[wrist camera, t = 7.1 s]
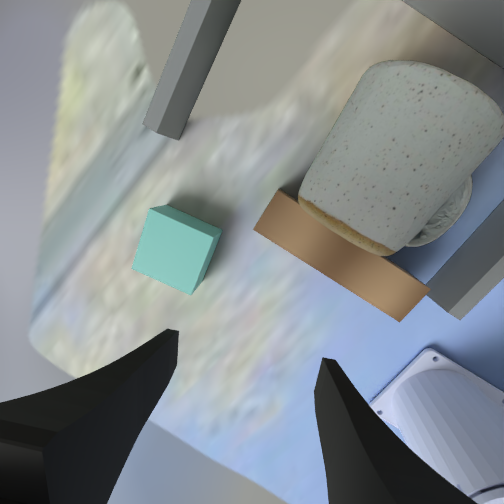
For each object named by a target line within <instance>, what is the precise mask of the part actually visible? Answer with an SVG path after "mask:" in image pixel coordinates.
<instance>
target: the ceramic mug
mask: <svg viewBox="0 0 504 504" xmlns="http://www.w3.org/2000/svg"><path fill="white" fill-rule="evenodd" d="M503 137H504V114H503V113H502V111H501V110H500V108H499V106H498V105H497V104H496V102H495V101H494V100H493V99H491V98H490V97H489V96H488V95H487V94H485V93H484V92H483V91H482V90H480V89H479V88H478V87H476V86H475V85H473V84H472V83H470V82H469V81H466V80H464V79H462V78H460V77H458V76H456V75H453V74H451V73H450V72H448V71H446V70H444V69H441V68H438V67H435V66H432V65H430V64H427V63H422V62H417V61H402V60H388V61H384V62H380V63H377V64H375V65H373V66H371V67H370V68H369V69H368V70H367V71H366V72H365V73H364V74H363V76H362V77H361V79H360V81H359V82H358V84H357V86H356V88H355V90H354V92H353V93H352V95H351V97H350V98H349V100H348V102H347V104H346V105H345V107H344V109H343V110H342V112H341V114H340V116H339V117H338V119H337V121H336V123H335V125H334V126H333V128H332V130H331V132H330V133H329V135H328V137H327V139H326V141H325V142H324V144H323V146H322V148H321V149H320V151H319V153H318V154H317V156H316V158H315V160H314V161H313V163H312V165H311V166H310V168H309V170H308V171H307V173H306V175H305V178H304V180H303V182H302V185H301V187H300V190H299V194H298V201H299V204H300V207H301V208H302V209H303V210H304V211H305V212H306V213H308V214H309V215H310V216H311V217H313V218H314V219H315V220H317V221H318V222H320V223H321V224H322V225H324V226H325V227H327V228H328V229H330V230H331V231H333V232H335V233H336V234H338V235H340V236H341V237H343V238H344V239H346V240H347V241H349V242H351V243H353V244H355V245H356V246H358V247H360V248H362V249H364V250H366V251H368V252H370V253H373V254H375V255H378V256H389V255H392V254H394V253H396V252H397V251H399V250H400V249H401V248H403V247H404V246H407V247H419V246H422V245H425V244H428V243H430V242H432V241H434V240H436V239H437V238H438V237H440V236H441V235H443V234H444V233H445V232H446V231H447V230H448V229H450V228H451V227H452V226H453V225H454V224H455V222H456V221H457V220H458V219H459V218H460V216H461V215H462V213H463V212H464V210H465V208H466V206H467V204H468V202H469V200H470V197H471V193H472V176H471V174H472V173H473V171H474V170H475V169H476V168H477V167H478V166H479V165H480V164H481V163H482V162H483V161H484V159H485V158H486V157H487V156H488V155H489V154H490V153H491V152H492V151H493V150H494V148H495V147H496V146H497V145H498V144H499V143H500V141H501V140H502V139H503Z"/></svg>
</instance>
